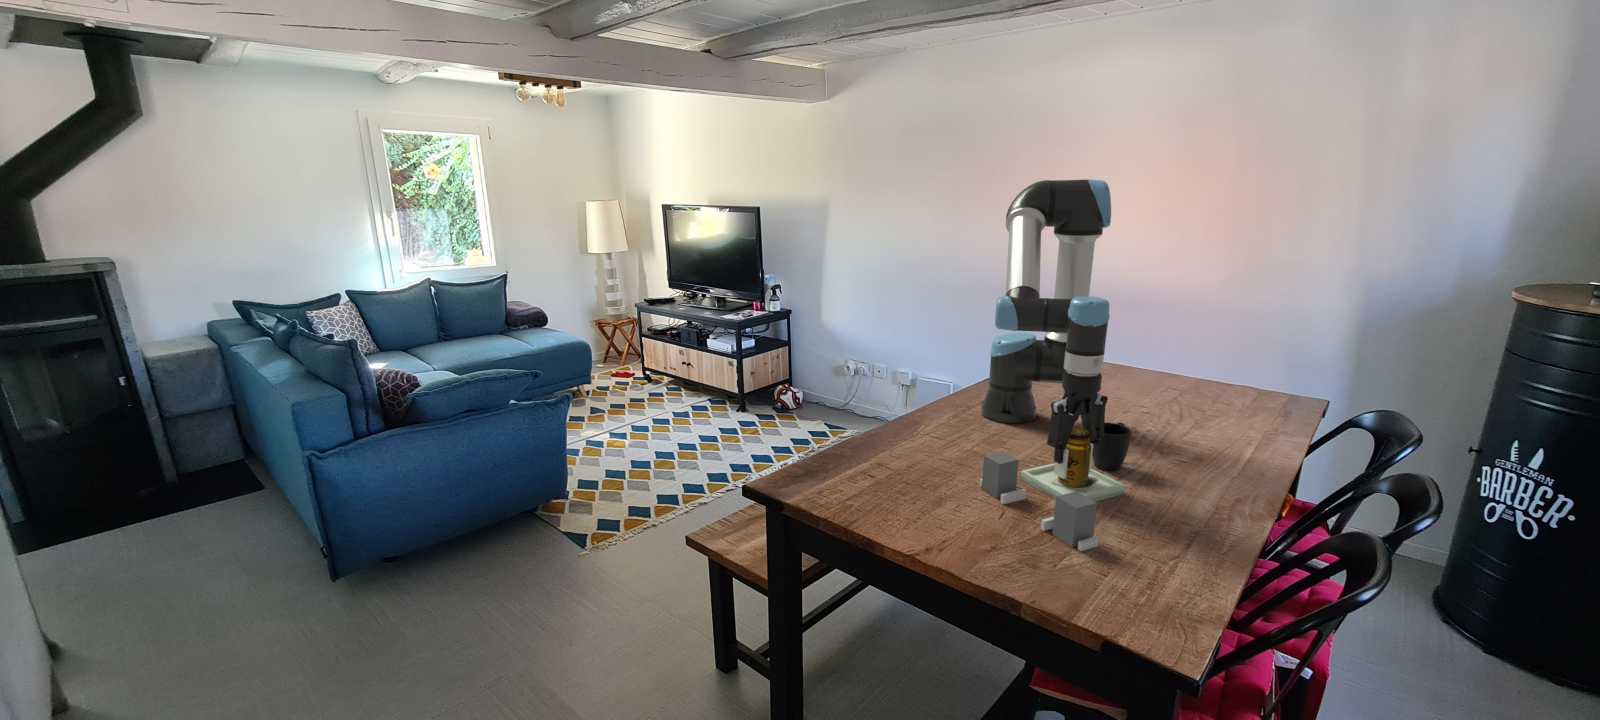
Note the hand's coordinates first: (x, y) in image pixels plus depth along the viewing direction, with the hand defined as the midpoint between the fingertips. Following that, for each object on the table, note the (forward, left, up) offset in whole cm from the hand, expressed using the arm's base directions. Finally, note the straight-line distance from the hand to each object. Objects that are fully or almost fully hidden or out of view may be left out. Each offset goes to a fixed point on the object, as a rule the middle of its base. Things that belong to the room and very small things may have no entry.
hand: (1072, 472), depth 144 cm
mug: (-5, +17, -3) cm, 18 cm away
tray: (0, 0, -3) cm, 3 cm away
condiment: (0, +1, -2) cm, 3 cm away
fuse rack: (+6, -16, -3) cm, 17 cm away
